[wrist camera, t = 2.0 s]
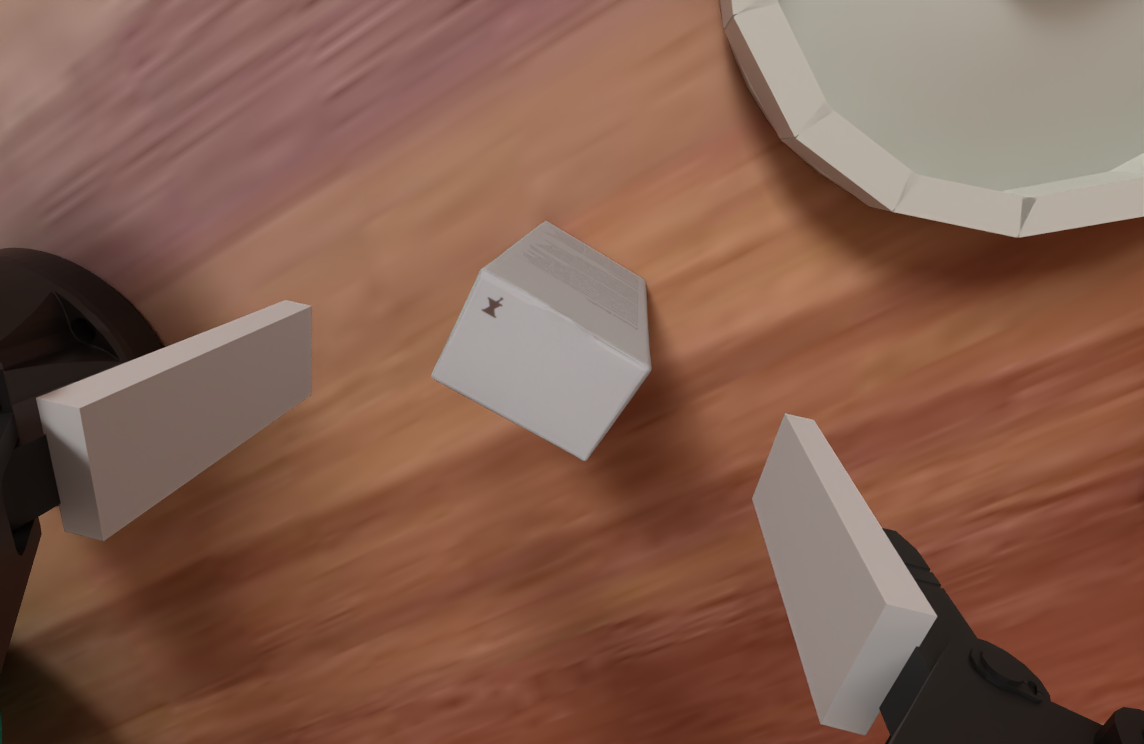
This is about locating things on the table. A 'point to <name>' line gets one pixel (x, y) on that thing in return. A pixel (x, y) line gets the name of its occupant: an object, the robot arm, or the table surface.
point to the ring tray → (957, 104)
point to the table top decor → (0, 731)
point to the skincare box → (551, 340)
